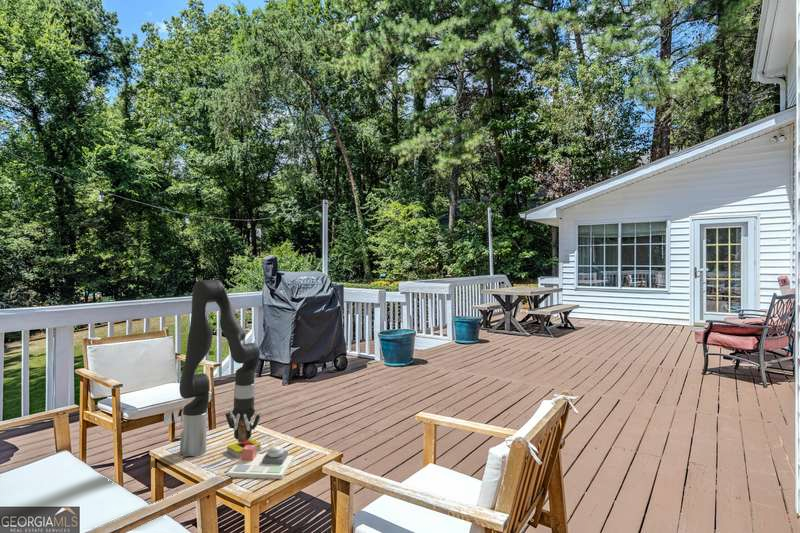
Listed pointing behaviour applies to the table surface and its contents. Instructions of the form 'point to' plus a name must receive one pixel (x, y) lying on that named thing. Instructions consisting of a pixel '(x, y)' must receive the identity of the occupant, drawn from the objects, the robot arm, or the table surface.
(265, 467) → the board
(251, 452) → the die
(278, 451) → the dome
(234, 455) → the emergency button
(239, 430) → the pawn
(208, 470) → the table surface
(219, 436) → the table surface
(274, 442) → the table surface
